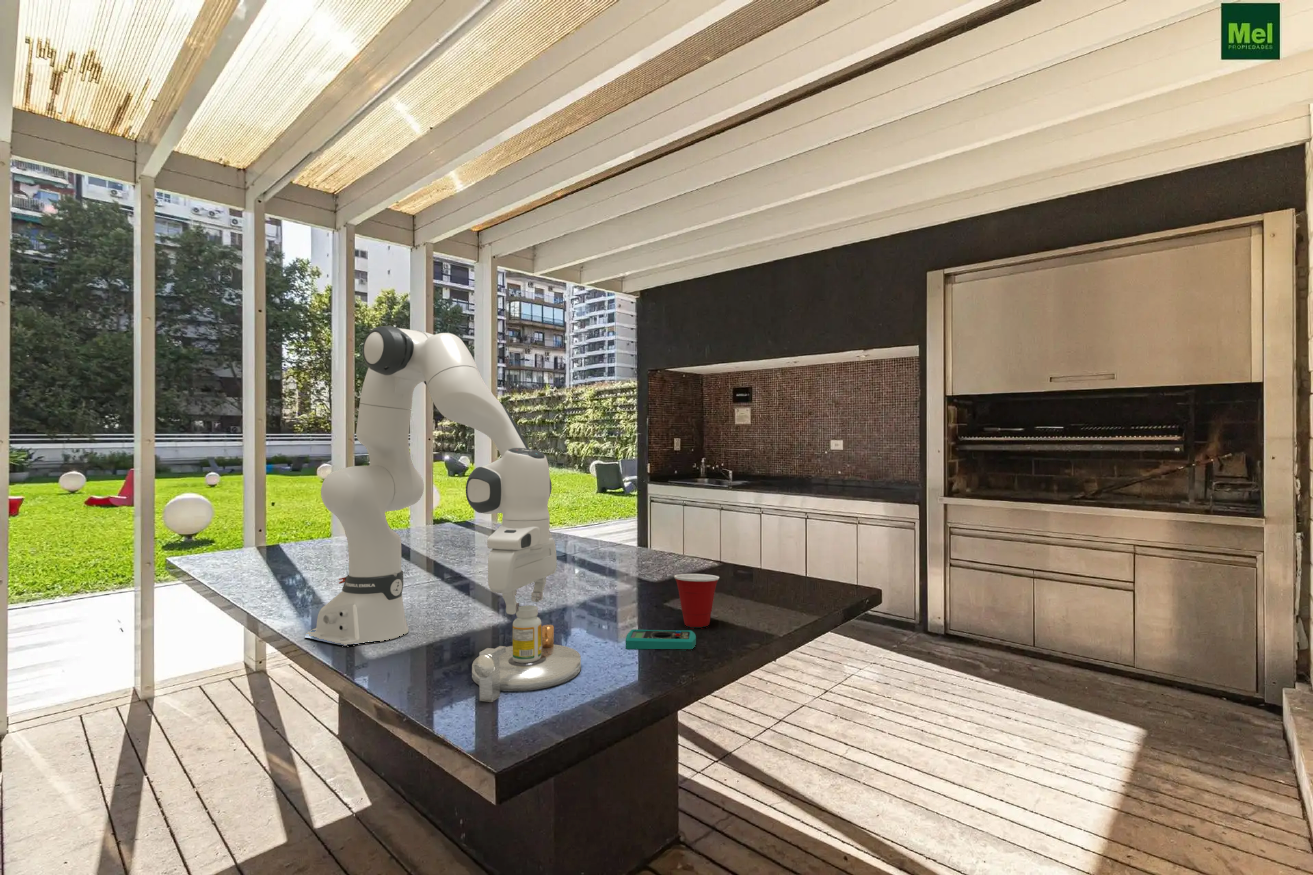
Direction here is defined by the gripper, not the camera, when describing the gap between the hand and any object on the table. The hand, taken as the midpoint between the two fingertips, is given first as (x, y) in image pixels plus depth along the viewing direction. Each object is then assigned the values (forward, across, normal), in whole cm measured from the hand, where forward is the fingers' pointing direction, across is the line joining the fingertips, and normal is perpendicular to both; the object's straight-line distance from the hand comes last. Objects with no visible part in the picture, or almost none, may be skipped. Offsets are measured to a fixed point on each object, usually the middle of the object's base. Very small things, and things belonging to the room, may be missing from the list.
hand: (525, 607), depth 116 cm
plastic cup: (+12, -39, +24) cm, 48 cm away
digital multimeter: (+12, -22, +20) cm, 33 cm away
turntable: (+12, 0, +1) cm, 12 cm away
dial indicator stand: (+12, +12, +1) cm, 17 cm away
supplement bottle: (+10, 0, 0) cm, 10 cm away
